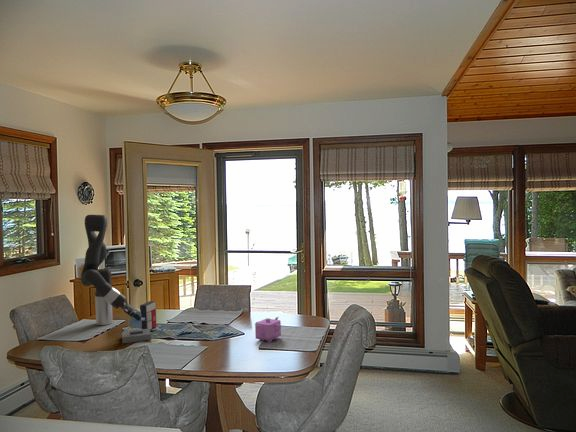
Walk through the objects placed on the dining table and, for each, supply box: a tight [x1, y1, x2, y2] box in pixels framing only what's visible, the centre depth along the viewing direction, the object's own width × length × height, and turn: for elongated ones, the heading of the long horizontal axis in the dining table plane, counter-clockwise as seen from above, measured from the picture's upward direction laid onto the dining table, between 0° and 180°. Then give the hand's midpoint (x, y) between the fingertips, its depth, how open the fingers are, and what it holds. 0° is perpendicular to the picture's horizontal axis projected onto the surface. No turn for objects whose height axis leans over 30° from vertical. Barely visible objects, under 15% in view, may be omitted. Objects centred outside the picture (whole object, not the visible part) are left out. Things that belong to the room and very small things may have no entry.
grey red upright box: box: [139, 300, 157, 330], centre depth 255 cm, size 11×4×15 cm, turn 168°
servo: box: [126, 308, 145, 329], centre depth 238 cm, size 4×9×9 cm, turn 109°
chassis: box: [121, 328, 152, 344], centre depth 238 cm, size 12×14×3 cm
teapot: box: [254, 316, 282, 343], centre depth 230 cm, size 15×13×11 cm
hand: (139, 318), depth 238 cm, fingers closed on servo, 4 cm apart
